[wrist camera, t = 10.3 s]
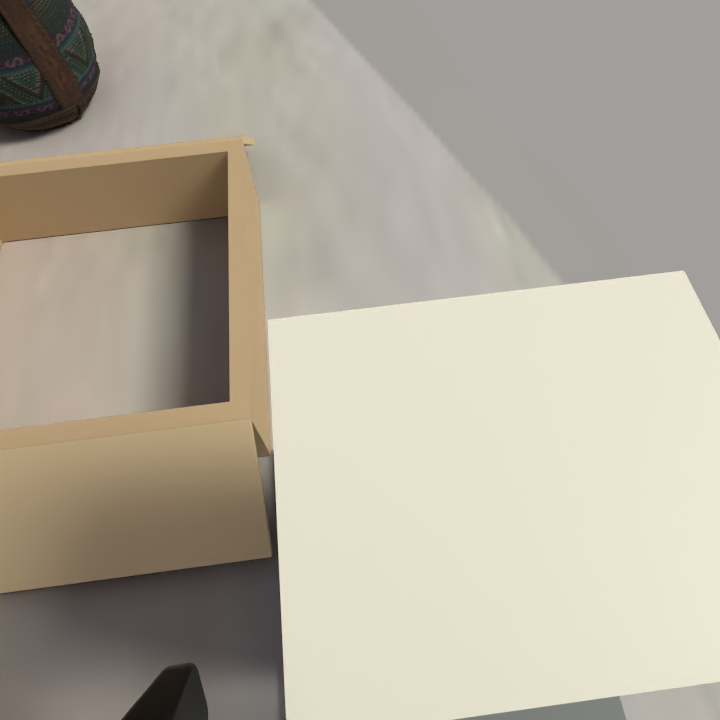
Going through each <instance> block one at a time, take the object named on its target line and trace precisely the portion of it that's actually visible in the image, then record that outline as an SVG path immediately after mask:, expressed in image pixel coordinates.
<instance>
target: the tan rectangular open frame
mask: <svg viewBox="0 0 720 720" xmlns="http://www.w3.org/2000/svg"><path fill="white" fill-rule="evenodd" d="M250 145H255V141H254V138H251V137H246V136H234V137H225V138H216V139H207V140H197V141H188V142H179V143H170V144H161V145H152V146H143V147H134V148H124V149H115V150H106V151H97V152H88V153H79V154H70V155H60V156H51V157H42V158H33V159H24V160H15V161H6V162H0V249H1V245H2V242H6V241H15V240H24V239H33V238H42V237H50V236H59V235H68V234H77V233H85V232H94V231H103V230H112V229H120V228H129V227H138V226H147V225H156V224H164V223H173V222H182V221H191V220H199V219H208V218H217V217H226V216H228V244H229V375H230V402H222V403H214V404H206V405H198V406H190V407H182V408H174V409H166V410H158V411H150V412H142V413H134V414H126V415H118V416H110V417H102V418H94V419H86V420H78V421H70V422H62V423H54V424H46V425H38V426H30V427H22V428H14V429H6V430H0V593H7V592H14V591H22V590H29V589H37V588H44V587H52V586H59V585H66V584H74V583H81V582H89V581H96V580H104V579H111V578H119V577H126V576H133V575H141V574H148V573H156V572H163V571H171V570H178V569H186V568H193V567H200V566H208V565H215V564H223V563H230V562H238V561H245V560H253V559H260V558H267V557H272V553H273V550H272V543H271V537H270V531H269V525H268V519H267V513H266V506H265V500H264V494H263V488H262V482H261V476H260V469H259V463H258V457H262V456H270V455H271V445H270V423H269V402H268V380H267V358H266V336H265V314H264V292H263V270H262V248H261V226H260V204H259V199H258V196H257V192H256V188H255V184H254V181H253V177H252V173H251V169H250V166H249V162H248V158H247V154H246V151H245V147H244V146H250Z"/></svg>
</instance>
